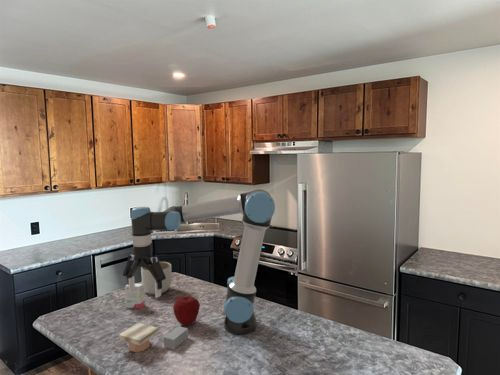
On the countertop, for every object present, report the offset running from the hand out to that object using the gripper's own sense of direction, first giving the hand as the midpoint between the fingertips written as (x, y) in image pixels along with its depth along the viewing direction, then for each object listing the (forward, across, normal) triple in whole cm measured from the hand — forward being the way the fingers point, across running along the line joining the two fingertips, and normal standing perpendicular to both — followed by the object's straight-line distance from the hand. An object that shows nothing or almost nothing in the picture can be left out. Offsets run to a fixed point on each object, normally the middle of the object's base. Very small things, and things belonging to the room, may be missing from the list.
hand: (145, 294), depth 141 cm
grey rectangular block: (+21, -11, -5) cm, 24 cm away
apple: (+21, -7, -20) cm, 30 cm away
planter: (+21, +32, -47) cm, 60 cm away
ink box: (+20, +29, -26) cm, 44 cm away
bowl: (+21, +1, +4) cm, 21 cm away
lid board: (+16, +1, +4) cm, 17 cm away
